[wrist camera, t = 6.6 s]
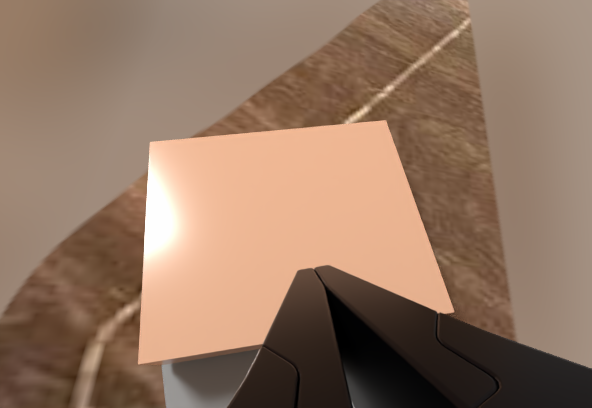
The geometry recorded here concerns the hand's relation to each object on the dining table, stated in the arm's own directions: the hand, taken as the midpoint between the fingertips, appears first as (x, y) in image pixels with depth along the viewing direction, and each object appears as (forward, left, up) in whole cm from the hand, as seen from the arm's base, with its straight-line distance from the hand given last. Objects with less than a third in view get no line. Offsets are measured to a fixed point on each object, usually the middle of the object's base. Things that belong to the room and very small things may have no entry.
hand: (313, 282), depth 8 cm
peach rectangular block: (-2, 0, -5) cm, 5 cm away
